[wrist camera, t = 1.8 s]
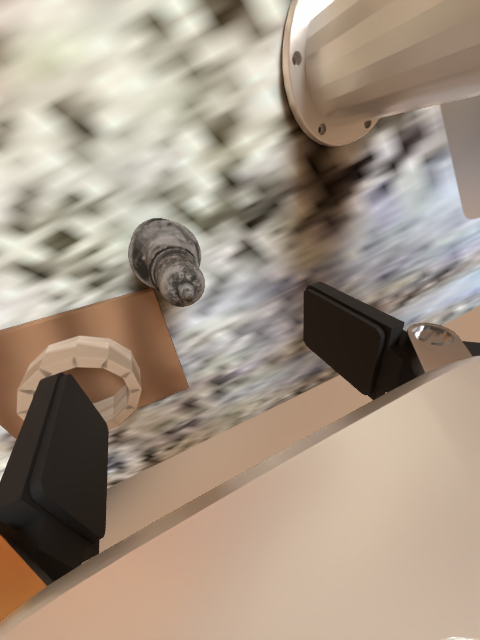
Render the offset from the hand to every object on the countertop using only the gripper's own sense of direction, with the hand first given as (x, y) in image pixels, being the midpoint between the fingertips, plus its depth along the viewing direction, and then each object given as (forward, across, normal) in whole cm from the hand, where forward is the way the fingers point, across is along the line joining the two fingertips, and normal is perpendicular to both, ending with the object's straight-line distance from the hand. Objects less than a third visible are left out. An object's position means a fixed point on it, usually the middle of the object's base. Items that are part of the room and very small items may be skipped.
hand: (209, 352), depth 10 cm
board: (+17, +10, +10) cm, 22 cm away
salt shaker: (+17, -1, 0) cm, 17 cm away
